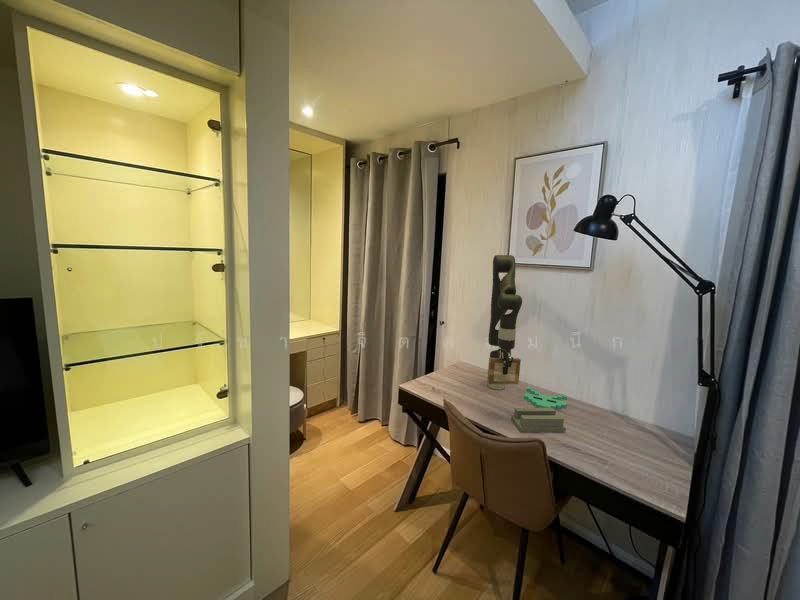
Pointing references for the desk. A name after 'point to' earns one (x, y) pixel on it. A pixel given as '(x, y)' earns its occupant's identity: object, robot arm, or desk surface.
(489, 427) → the desk surface
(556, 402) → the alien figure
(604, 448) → the desk surface
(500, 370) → the walnut frame
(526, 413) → the picture ledge
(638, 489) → the desk surface
